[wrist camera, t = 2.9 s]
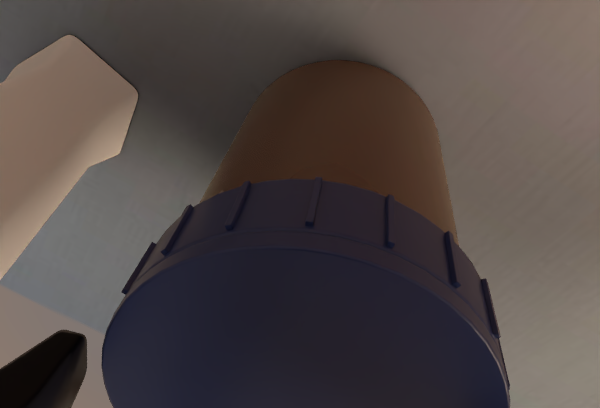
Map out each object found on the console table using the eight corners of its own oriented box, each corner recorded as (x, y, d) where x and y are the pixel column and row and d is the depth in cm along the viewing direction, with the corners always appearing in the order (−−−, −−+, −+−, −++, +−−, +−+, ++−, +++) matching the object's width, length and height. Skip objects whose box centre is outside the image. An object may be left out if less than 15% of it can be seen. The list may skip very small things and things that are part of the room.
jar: (362, 266, 19) (346, 522, 11) (208, 175, 18) (84, 396, 10) (484, 135, 16) (568, 373, 8) (307, 15, 14) (229, 170, 7)
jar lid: (355, 474, 13) (351, 561, 11) (92, 342, 12) (45, 418, 10) (578, 309, 9) (618, 400, 8) (239, 95, 8) (203, 151, 7)
